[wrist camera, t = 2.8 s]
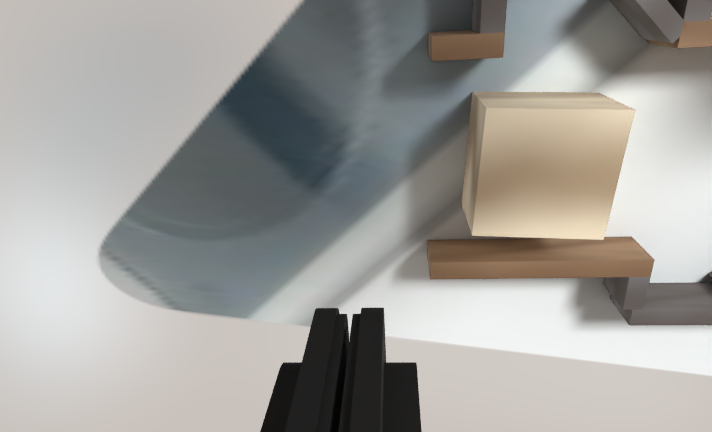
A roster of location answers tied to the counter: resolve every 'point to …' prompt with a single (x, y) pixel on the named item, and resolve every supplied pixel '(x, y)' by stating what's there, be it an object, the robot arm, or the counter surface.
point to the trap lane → (579, 256)
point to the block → (543, 163)
